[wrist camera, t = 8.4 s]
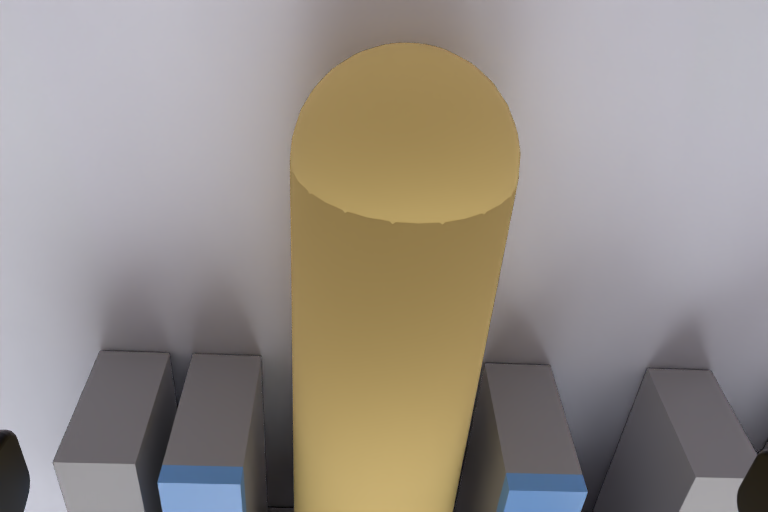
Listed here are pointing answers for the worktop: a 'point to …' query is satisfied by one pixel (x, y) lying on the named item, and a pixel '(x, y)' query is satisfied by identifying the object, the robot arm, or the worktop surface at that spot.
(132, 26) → the worktop surface
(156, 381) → the slotted dish rack
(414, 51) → the yellow rounded cylinder
